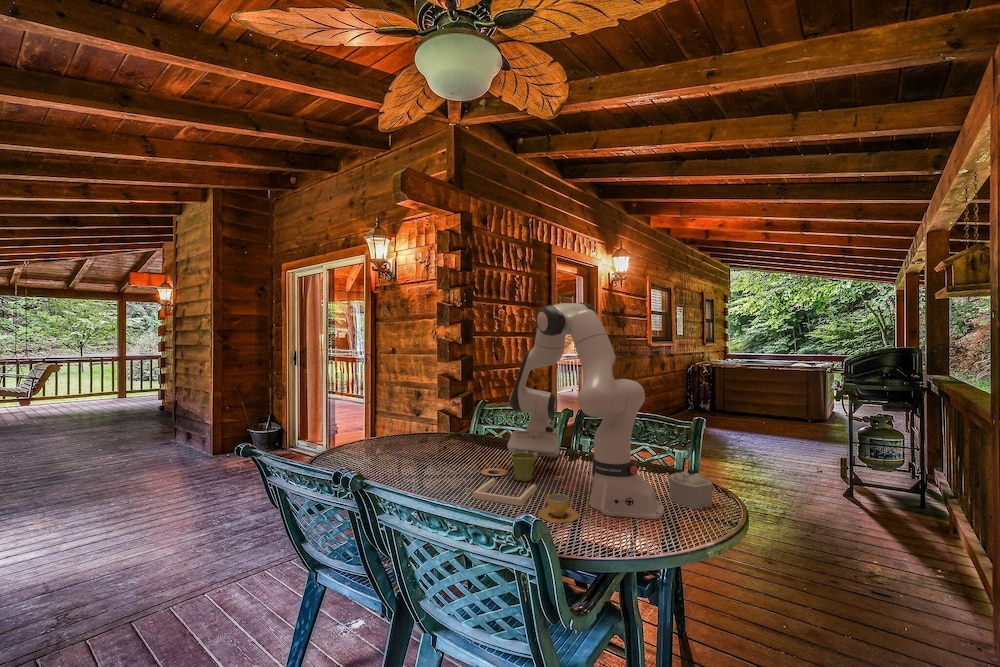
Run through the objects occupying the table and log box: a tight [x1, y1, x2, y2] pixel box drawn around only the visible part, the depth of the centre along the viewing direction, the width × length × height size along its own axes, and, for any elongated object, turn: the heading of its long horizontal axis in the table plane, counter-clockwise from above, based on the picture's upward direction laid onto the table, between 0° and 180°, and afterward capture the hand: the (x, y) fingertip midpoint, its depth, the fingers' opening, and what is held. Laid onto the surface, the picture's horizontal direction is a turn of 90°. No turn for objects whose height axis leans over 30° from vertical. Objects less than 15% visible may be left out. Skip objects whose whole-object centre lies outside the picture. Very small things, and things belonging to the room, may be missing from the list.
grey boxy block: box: [668, 471, 713, 510], centre depth 148 cm, size 10×13×9 cm
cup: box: [537, 493, 580, 524], centre depth 137 cm, size 12×12×5 cm
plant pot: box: [510, 452, 536, 482], centre depth 170 cm, size 9×9×9 cm
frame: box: [472, 478, 537, 507], centre depth 153 cm, size 16×15×2 cm
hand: (528, 463), depth 175 cm, fingers closed
